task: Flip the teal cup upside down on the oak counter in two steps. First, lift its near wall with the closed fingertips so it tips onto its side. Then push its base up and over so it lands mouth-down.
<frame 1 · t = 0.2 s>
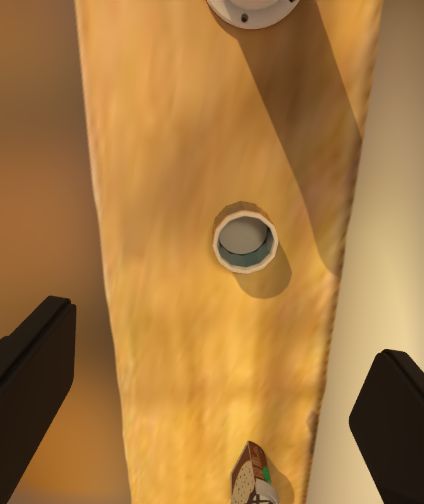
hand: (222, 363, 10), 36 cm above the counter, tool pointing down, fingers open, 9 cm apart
food container: (253, 460, 63), on the counter
teal cup: (241, 229, 47), on the counter
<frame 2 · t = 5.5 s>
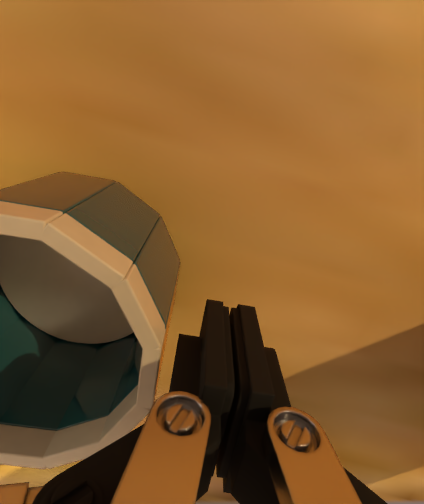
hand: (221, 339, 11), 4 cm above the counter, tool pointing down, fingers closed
teal cup: (85, 268, 14), on the counter, touching gripper
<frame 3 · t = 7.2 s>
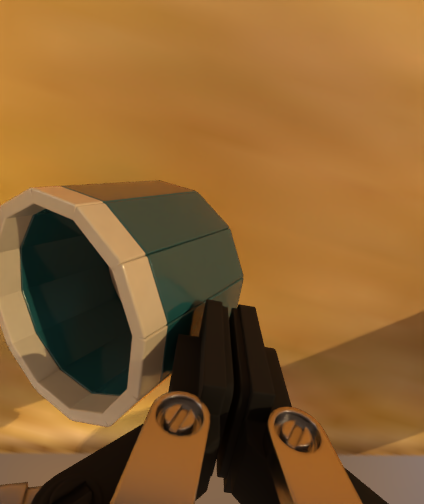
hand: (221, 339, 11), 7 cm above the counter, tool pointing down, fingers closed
teal cup: (166, 267, 16), point 2 cm above the counter, tilted 32°, touching gripper
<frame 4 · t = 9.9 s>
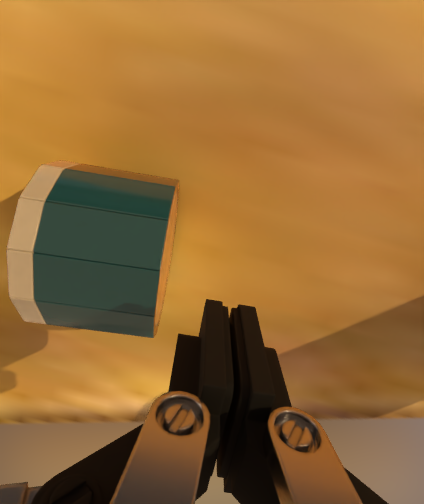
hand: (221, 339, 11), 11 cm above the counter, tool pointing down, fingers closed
teal cup: (167, 258, 17), point 4 cm above the counter, tilted 90°
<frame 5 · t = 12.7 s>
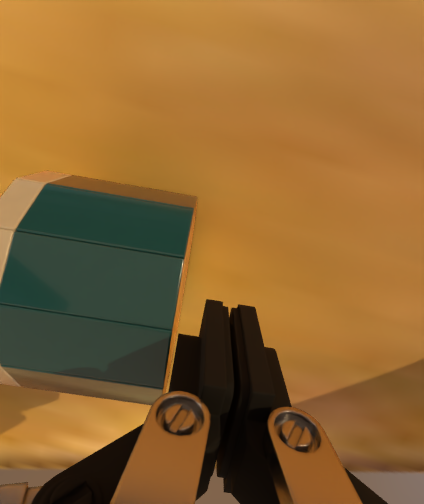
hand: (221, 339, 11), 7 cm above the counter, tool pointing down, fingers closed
teal cup: (181, 296, 13), point 4 cm above the counter, tilted 91°, touching gripper
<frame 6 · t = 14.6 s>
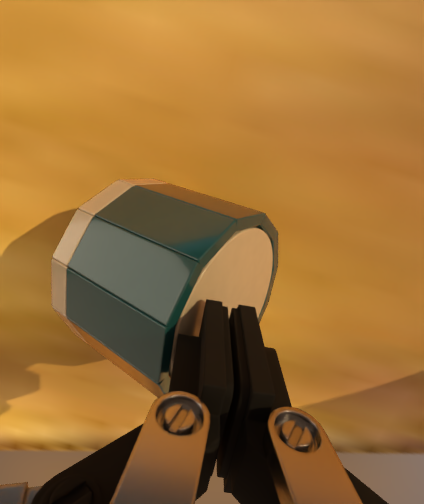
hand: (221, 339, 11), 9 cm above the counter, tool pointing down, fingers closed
teal cup: (231, 311, 13), point 7 cm above the counter, tilted 125°
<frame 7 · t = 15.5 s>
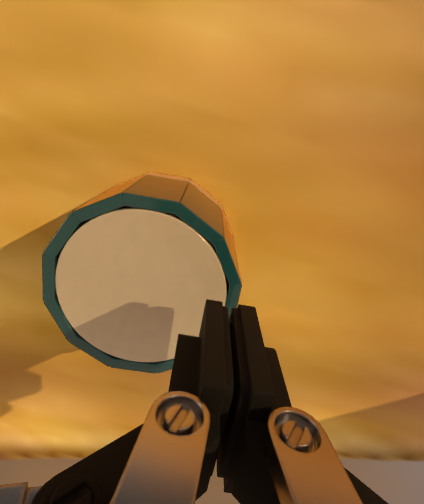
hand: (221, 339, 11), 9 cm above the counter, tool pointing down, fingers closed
teal cup: (141, 293, 13), point 6 cm above the counter, tilted 180°
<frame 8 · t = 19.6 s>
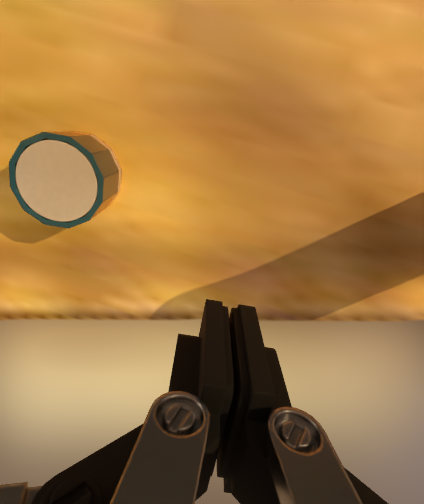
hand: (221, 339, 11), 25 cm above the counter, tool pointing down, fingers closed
teal cup: (56, 182, 28), point 6 cm above the counter, tilted 180°
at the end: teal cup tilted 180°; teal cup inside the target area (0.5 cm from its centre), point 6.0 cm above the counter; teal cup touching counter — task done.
